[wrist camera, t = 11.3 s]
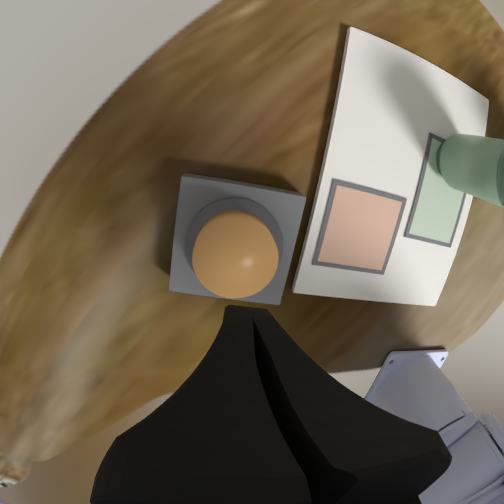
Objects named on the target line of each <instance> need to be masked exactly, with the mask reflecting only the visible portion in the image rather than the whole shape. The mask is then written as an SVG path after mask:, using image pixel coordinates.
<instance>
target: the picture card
mask: <svg viewBox="0 0 504 504" xmlns="http://www.w3.org/2000/svg"><path fill="white" fill-rule="evenodd" d="M488 107H489V100H488V99H487V98H485V97H484V96H482V95H481V94H480V93H478V92H477V91H475V90H474V89H472V88H471V87H469V86H468V85H466V84H465V83H463V82H462V81H460V80H459V79H457V78H455V77H454V76H452V75H451V74H449V73H447V72H446V71H444V70H442V69H440V68H439V67H437V66H435V65H433V64H432V63H430V62H428V61H426V60H424V59H423V58H421V57H419V56H417V55H415V54H413V53H411V52H409V51H407V50H405V49H403V48H401V47H399V46H396V45H394V44H392V43H390V42H388V41H386V40H383V39H381V38H379V37H376V36H374V35H371V34H369V33H366V32H364V31H361V30H359V29H356V28H354V27H349V28H348V29H347V34H346V41H345V47H344V53H343V59H342V65H341V71H340V76H339V82H338V87H337V93H336V98H335V103H334V108H333V114H332V119H331V124H330V129H329V134H328V138H327V143H326V148H325V153H324V157H323V162H322V166H321V171H320V175H319V180H318V184H317V189H316V193H315V197H314V202H313V206H312V210H311V214H310V218H309V223H308V227H307V231H306V235H305V239H304V243H303V247H302V251H301V254H300V258H299V262H298V266H297V270H296V274H295V277H294V281H293V285H292V291H293V293H300V294H309V295H318V296H328V297H337V298H347V299H357V300H368V301H378V302H390V303H401V304H414V305H427V306H435V305H436V303H437V301H438V298H439V296H440V294H441V291H442V289H443V286H444V284H445V281H446V279H447V276H448V274H449V271H450V268H451V266H452V263H453V260H454V257H455V255H456V252H457V249H458V246H459V243H460V240H461V237H462V233H463V230H464V227H465V224H466V220H467V217H468V213H469V210H470V206H471V202H472V198H473V196H472V195H470V194H467V193H464V192H461V191H458V190H456V189H453V188H451V187H450V186H449V185H448V184H447V183H446V182H445V180H444V178H443V176H442V175H441V174H440V172H439V170H438V167H437V161H436V157H437V151H438V149H439V147H440V145H441V144H442V143H443V142H444V141H446V140H447V138H448V137H450V136H451V135H453V134H468V135H476V136H484V137H485V132H486V125H487V117H488Z"/></svg>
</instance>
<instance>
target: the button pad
mask: <svg viewBox="0 0 504 504" xmlns="http://www.w3.org/2000/svg"><path fill="white" fill-rule="evenodd" d="M305 201H306V197H305V196H304V195H303V194H301V193H300V192H296V191H291V190H286V189H280V188H275V187H270V186H264V185H258V184H253V183H247V182H241V181H235V180H229V179H223V178H216V177H210V176H203V175H196V174H189V173H185V174H184V175H182V177H181V184H180V191H179V198H178V206H177V214H176V222H175V231H174V240H173V250H172V260H171V271H170V284H169V291H174V292H181V293H188V294H194V295H202V296H209V297H216V298H224V299H231V300H239V301H247V302H256V303H264V304H273V305H280V302H281V298H282V295H283V291H284V287H285V283H286V279H287V275H288V271H289V267H290V263H291V259H292V255H293V251H294V247H295V243H296V239H297V235H298V231H299V227H300V223H301V218H302V214H303V210H304V206H305ZM228 210H242V211H246V212H249V213H251V214H253V215H255V216H257V217H258V218H260V219H261V220H262V221H263V222H264V223H265V224H266V226H267V227H268V229H269V230H270V232H271V235H272V237H273V239H274V241H275V243H276V246H277V249H278V256H279V258H278V267H277V270H276V273H275V275H274V277H273V278H272V280H271V281H270V282H269V284H268V285H267V286H266V287H265V288H263V289H262V290H261V291H259V292H257V293H256V294H253V295H251V296H248V297H244V298H226V297H222V296H218V295H216V294H214V293H212V292H211V291H209V290H208V289H206V288H205V287H204V286H203V285H202V284H201V282H200V281H199V280H198V278H197V276H196V274H195V272H194V269H193V264H192V254H193V249H194V245H195V242H196V238H197V235H198V232H199V231H200V229H201V227H202V226H203V224H204V223H205V222H206V221H207V220H208V219H210V218H211V217H212V216H214V215H216V214H218V213H220V212H224V211H228Z"/></svg>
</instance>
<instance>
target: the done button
mask: <svg viewBox="0 0 504 504" xmlns="http://www.w3.org/2000/svg"><path fill="white" fill-rule="evenodd" d="M278 258H279V256H278V249H277V246H276V243H275V241H274V239H273V237H272V235H271V232H270V230H269V229H268V227H267V226H266V224H265V223H264V222H263V221H262V220H261V219H260V218H258V217H257V216H255V215H253V214H251V213H249V212H246V211H242V210H228V211H224V212H220V213H218V214H216V215H214V216H212V217H211V218H210V219H208V220H207V221H206V222H205V223H204V224H203V226H202V227H201V229H200V231H199V232H198V235H197V238H196V242H195V245H194V249H193V254H192V264H193V269H194V272H195V274H196V276H197V278H198V280H199V281H200V282H201V284H202V285H203V286H204V287H205V288H206V289H208V290H209V291H211V292H212V293H214V294H216V295H218V296H222V297H226V298H244V297H248V296H251V295H253V294H256V293H257V292H259V291H261V290H262V289H263V288H265V287H266V286H267V285H268V284H269V282H270V281H271V280H272V278H273V277H274V275H275V273H276V270H277V267H278Z"/></svg>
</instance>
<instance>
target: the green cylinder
mask: <svg viewBox="0 0 504 504" xmlns="http://www.w3.org/2000/svg"><path fill="white" fill-rule="evenodd" d="M436 161H437V167H438V170H439V172H440V174H441V175H442V176H443V178H444V180H445V182H446V183H447V184H448V185H449V186H450V187H451V188H453V189H456V190H458V191H461V192H464V193H467V194H470V195H472V196H475V197H478V198H480V199H483V200H485V201H488V202H491V203H493V204H496V205H498V206H501V207H503V208H504V139H497V138H491V137H484V136H476V135H468V134H453V135H451V136H450V137H448V138H447V140H446V141H444V142H443V143H442V144H441V145H440V147H439V149H438V151H437V157H436Z"/></svg>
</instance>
